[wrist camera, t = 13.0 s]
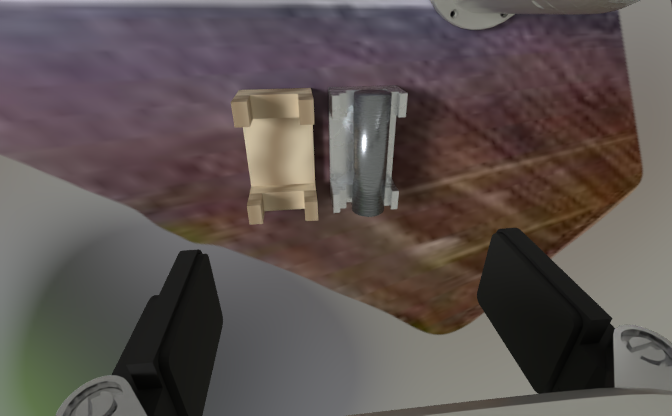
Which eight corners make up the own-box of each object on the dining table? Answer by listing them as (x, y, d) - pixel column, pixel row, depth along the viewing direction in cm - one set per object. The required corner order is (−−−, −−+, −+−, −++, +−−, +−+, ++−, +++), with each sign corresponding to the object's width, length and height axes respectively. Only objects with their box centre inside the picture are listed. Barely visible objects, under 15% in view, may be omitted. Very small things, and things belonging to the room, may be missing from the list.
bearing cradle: (310, 87, 39) (313, 99, 34) (315, 196, 46) (318, 220, 41) (239, 90, 39) (230, 102, 33) (254, 200, 46) (249, 224, 40)
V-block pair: (396, 85, 40) (407, 93, 36) (388, 192, 47) (397, 208, 43) (328, 87, 40) (332, 95, 36) (330, 195, 46) (333, 212, 43)
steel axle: (383, 88, 39) (398, 95, 35) (376, 199, 46) (388, 214, 42) (349, 90, 38) (360, 98, 34) (347, 203, 45) (357, 218, 41)
